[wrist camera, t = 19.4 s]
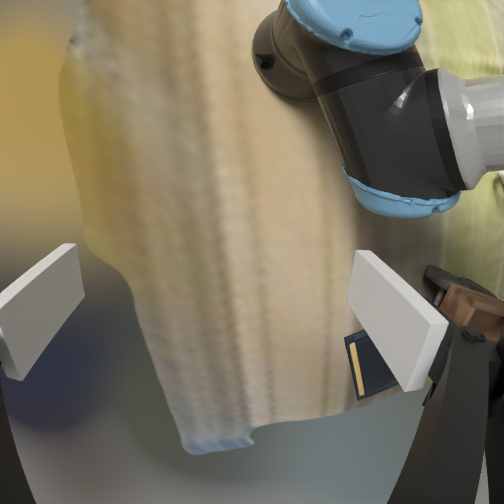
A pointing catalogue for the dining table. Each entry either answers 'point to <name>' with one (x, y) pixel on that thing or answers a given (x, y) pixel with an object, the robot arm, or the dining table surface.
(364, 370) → the dark navy book
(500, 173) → the cup
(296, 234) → the dining table surface
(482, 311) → the trolley
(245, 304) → the dining table surface
